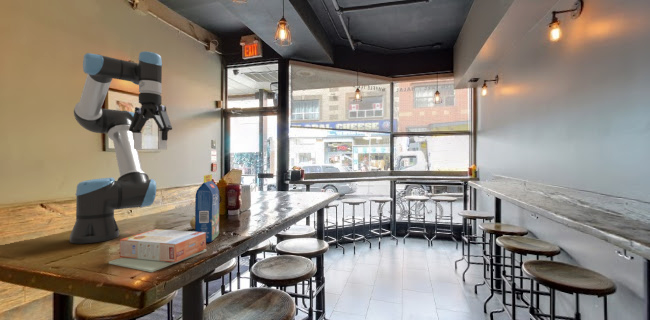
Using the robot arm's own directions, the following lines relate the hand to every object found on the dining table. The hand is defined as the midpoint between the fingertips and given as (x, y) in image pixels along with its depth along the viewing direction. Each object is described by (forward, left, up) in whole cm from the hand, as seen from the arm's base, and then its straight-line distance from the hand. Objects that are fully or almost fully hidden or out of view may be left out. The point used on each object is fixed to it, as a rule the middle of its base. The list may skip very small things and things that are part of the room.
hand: (150, 149), depth 111 cm
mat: (+21, -12, -35) cm, 42 cm away
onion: (+3, +22, -35) cm, 41 cm away
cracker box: (+10, -12, -31) cm, 35 cm away
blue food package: (+18, +11, -35) cm, 41 cm away
